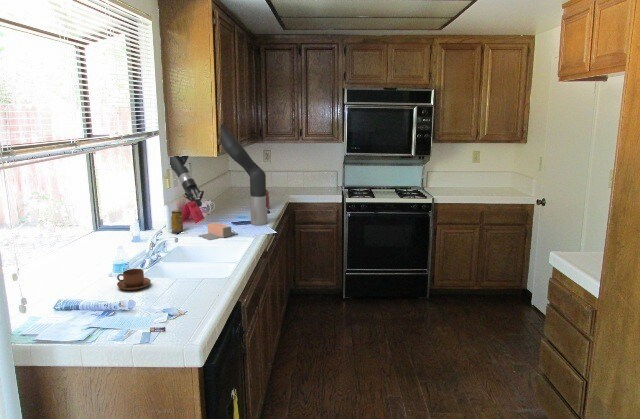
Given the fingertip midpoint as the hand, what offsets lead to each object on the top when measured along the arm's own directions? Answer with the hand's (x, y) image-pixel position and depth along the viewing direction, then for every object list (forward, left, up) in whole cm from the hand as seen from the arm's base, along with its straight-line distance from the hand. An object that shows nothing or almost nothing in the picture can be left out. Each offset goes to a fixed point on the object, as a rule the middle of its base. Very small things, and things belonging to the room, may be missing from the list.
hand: (200, 205), depth 274 cm
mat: (+1, +18, -14) cm, 23 cm away
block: (0, +11, -11) cm, 15 cm away
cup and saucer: (+70, +62, -14) cm, 94 cm away
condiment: (+13, -3, -14) cm, 19 cm away
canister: (-64, -25, -14) cm, 70 cm away
